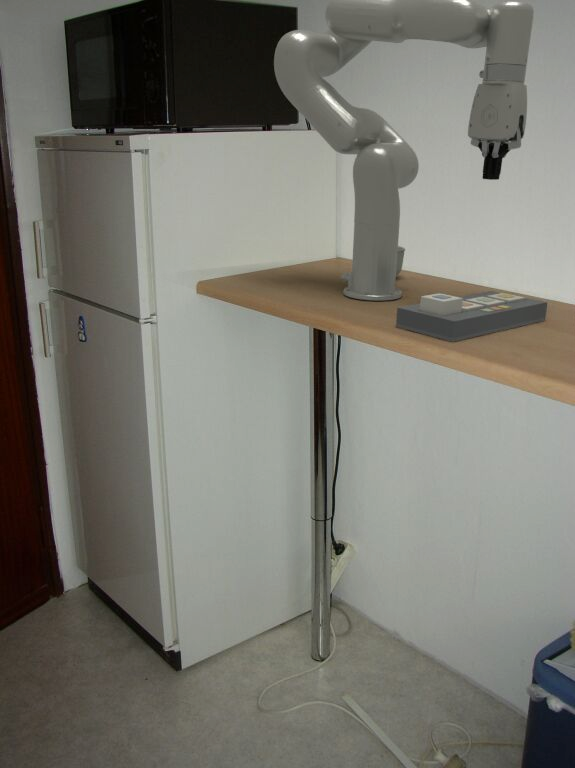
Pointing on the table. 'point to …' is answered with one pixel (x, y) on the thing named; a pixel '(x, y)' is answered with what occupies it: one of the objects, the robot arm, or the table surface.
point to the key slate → (441, 304)
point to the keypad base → (471, 318)
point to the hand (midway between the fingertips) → (490, 179)
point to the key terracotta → (471, 306)
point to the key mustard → (506, 297)
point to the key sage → (486, 301)
